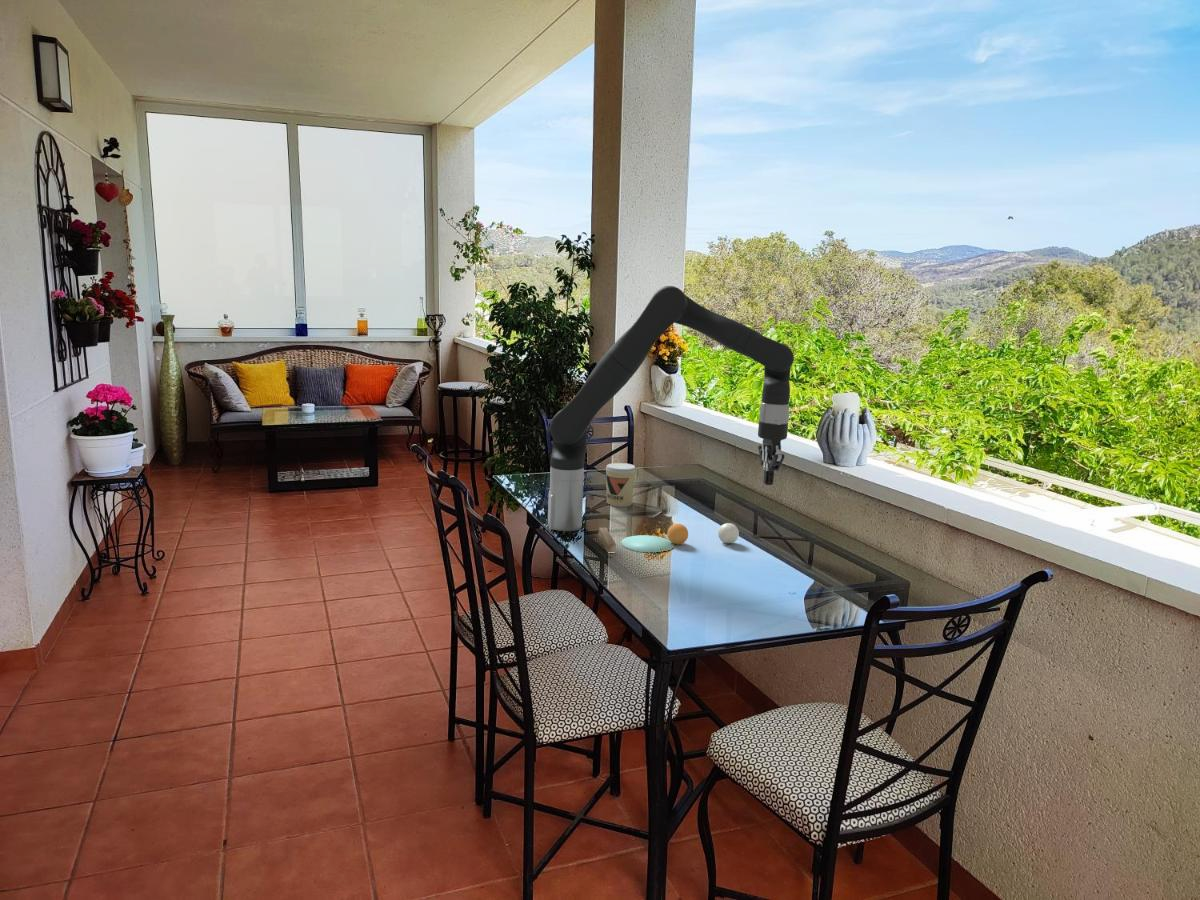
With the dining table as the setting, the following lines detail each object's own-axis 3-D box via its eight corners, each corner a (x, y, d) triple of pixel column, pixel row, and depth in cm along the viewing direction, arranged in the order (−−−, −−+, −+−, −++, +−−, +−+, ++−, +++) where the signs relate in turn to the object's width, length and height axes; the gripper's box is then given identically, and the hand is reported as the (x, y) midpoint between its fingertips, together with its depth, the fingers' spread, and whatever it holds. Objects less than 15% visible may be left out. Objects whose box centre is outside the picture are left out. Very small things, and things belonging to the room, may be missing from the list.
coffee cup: (599, 504, 245) (600, 466, 242) (612, 497, 253) (614, 461, 250) (626, 509, 240) (628, 470, 238) (639, 502, 249) (641, 465, 246)
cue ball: (721, 546, 209) (722, 526, 208) (714, 540, 214) (716, 520, 213) (740, 546, 210) (742, 526, 208) (734, 539, 215) (735, 520, 214)
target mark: (627, 553, 200) (627, 552, 200) (616, 536, 214) (616, 535, 213) (680, 552, 202) (680, 551, 202) (667, 535, 216) (667, 535, 216)
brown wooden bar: (607, 553, 199) (608, 544, 199) (598, 536, 213) (599, 527, 212) (615, 553, 200) (615, 544, 199) (605, 536, 213) (606, 527, 213)
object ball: (669, 547, 206) (671, 527, 205) (664, 540, 212) (665, 521, 210) (690, 547, 207) (691, 527, 206) (684, 540, 212) (685, 520, 211)
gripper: (751, 415, 212) (746, 478, 216) (769, 424, 200) (763, 490, 203) (777, 416, 214) (772, 478, 217) (797, 424, 201) (791, 490, 204)
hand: (768, 484), depth 210 cm, fingers closed
